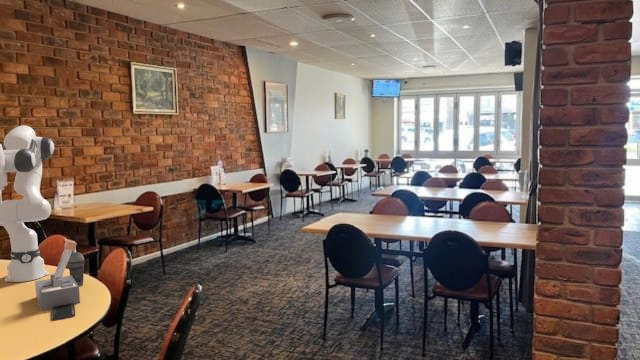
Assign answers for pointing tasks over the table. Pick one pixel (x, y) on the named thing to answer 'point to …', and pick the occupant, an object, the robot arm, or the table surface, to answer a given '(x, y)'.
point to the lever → (64, 258)
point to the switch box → (57, 292)
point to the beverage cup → (76, 267)
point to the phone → (63, 311)
